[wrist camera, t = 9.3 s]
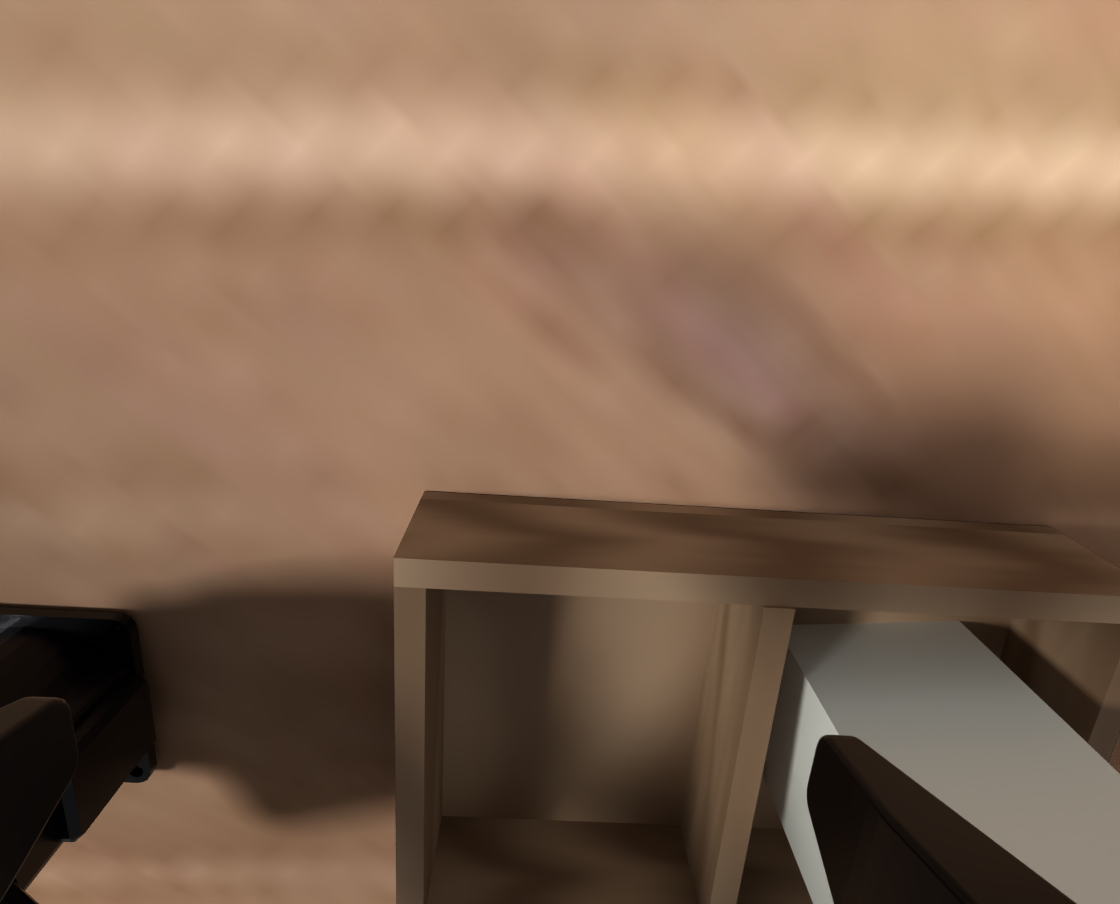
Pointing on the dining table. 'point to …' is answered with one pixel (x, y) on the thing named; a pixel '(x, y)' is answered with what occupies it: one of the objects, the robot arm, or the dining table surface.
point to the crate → (674, 680)
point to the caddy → (946, 747)
